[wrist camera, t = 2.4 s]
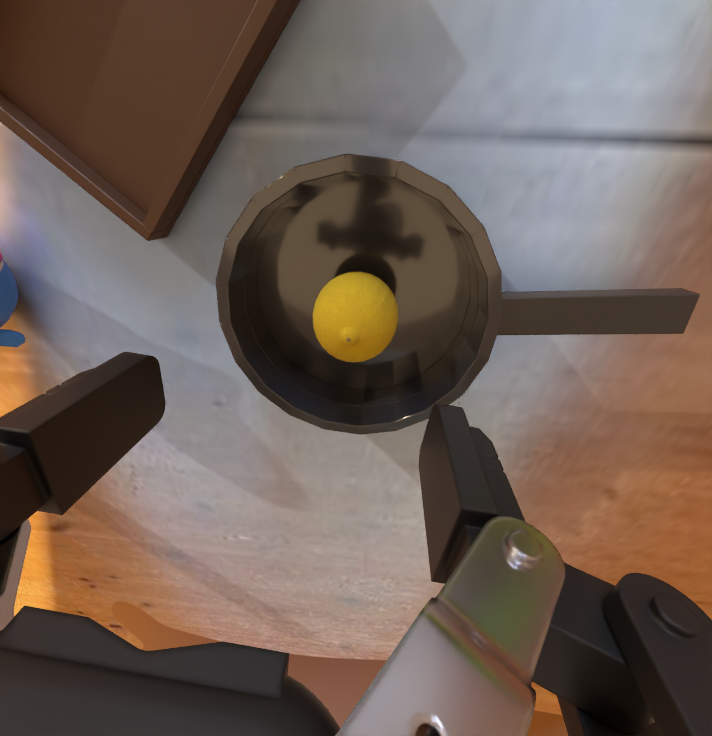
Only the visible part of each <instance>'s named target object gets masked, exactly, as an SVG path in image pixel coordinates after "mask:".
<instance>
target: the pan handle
mask: <svg viewBox="0 0 712 736" xmlns="http://www.w3.org/2000/svg"><path fill="white" fill-rule="evenodd" d="M699 296H700V294H698V293H695V292H691V291H688V290H685V289H682V288H672V289H625V290H579V291H532V292H502V319H501V320H502V321H501V324H500V327H499V330H498V333H497V335H563V334H682V333H684V331H685V328H686V326H687V324H688V321H689V319H690V317H691V314H692V312H693V310H694V308H695V305H696V303H697V301H698V298H699Z"/></svg>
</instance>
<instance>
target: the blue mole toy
mask: <svg viewBox="0 0 712 736" xmlns="http://www.w3.org/2000/svg"><path fill="white" fill-rule="evenodd" d="M17 302H18V287H17V283H16V280H15V278H14V275H13V273H12V272H11V270H10V268H9V267H8V266H7V264H6V263H5V262H4V260H3V259H2V255H1V253H0V327H2V326H3V325H4V324H5V323H6V322H7V321H8V320H9V318H10V316H11V315H12V313H13V312H14V310H15V308H16V305H17ZM24 342H25V337H24V336H23V335H22V334H21V333H19V332H16V331H12V330H4V329H0V346H8V347H18V346H20V345H21V344H23V343H24Z"/></svg>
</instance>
